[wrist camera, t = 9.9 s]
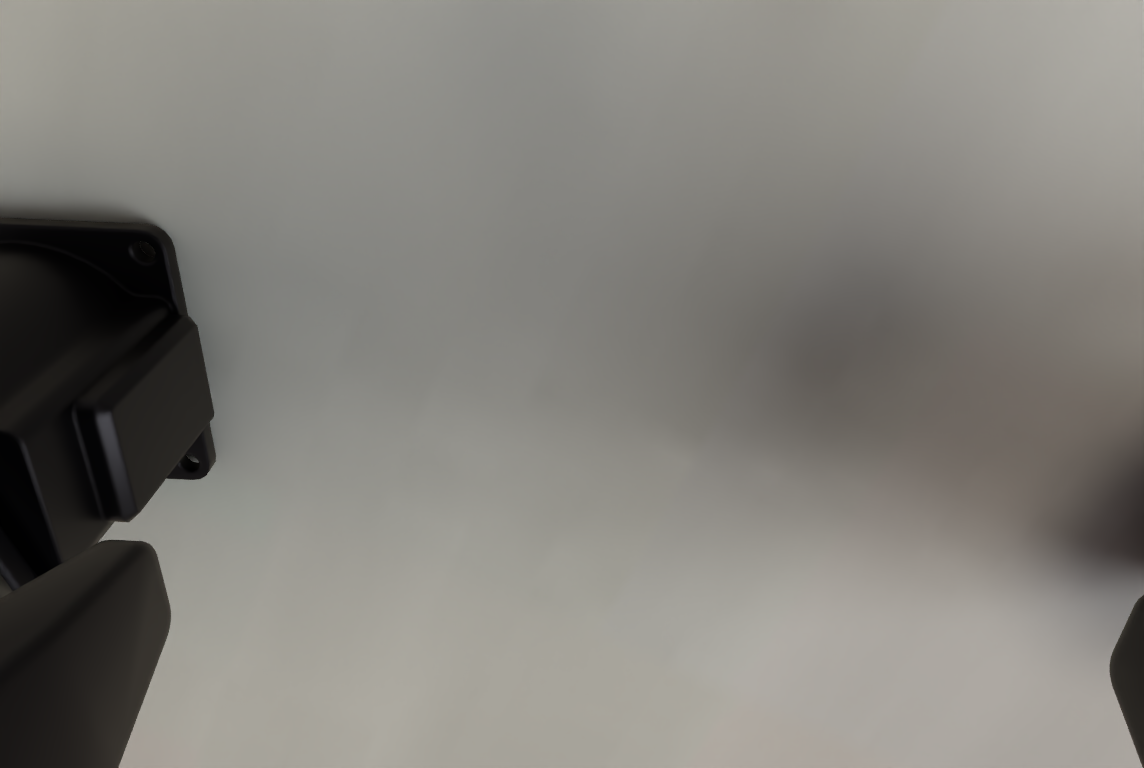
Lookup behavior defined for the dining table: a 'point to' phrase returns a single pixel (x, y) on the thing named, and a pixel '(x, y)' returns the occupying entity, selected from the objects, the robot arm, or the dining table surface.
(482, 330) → the dining table surface
